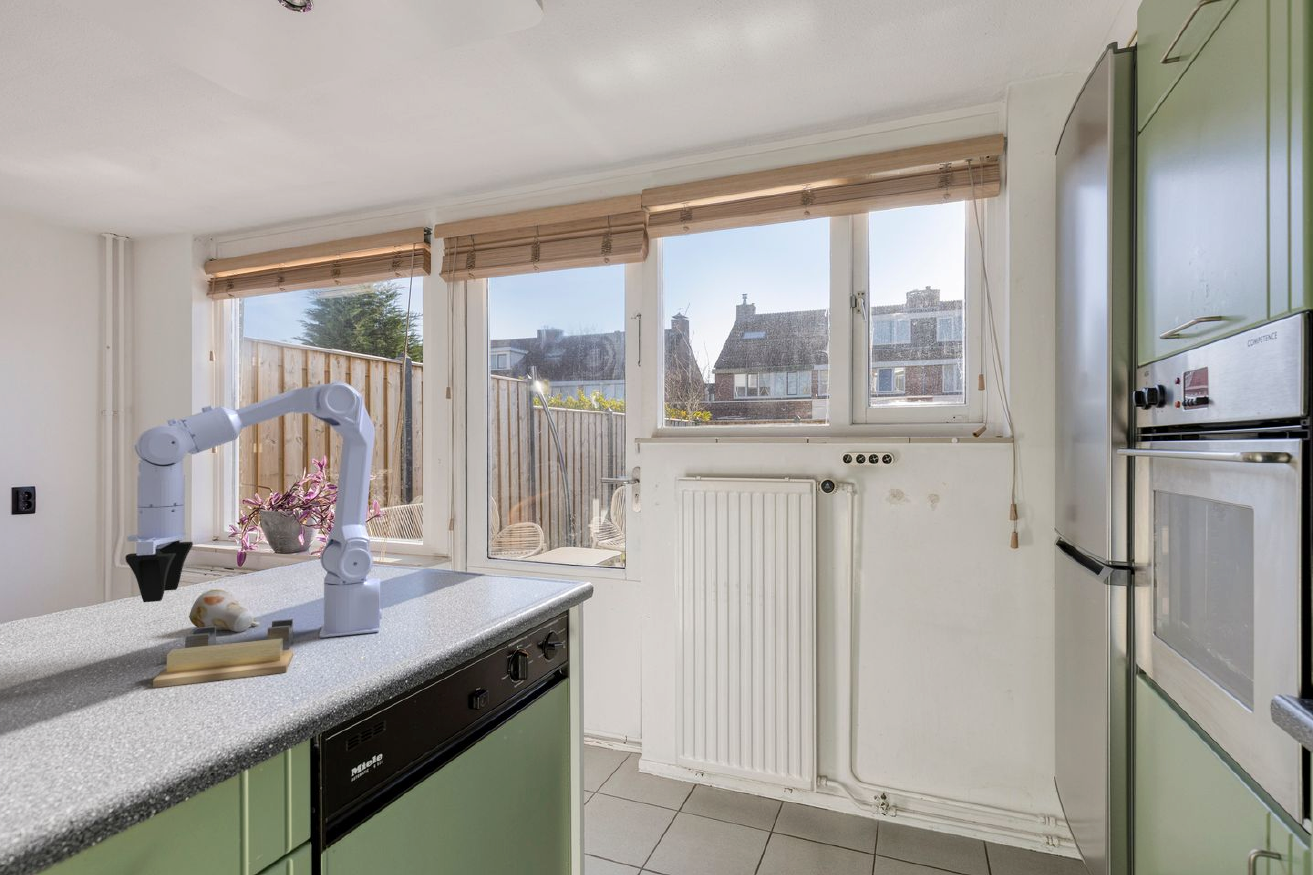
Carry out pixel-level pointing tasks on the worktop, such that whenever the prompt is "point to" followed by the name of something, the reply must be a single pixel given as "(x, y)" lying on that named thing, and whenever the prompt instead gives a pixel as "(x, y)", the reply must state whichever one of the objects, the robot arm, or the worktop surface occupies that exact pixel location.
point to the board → (223, 672)
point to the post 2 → (282, 632)
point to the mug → (221, 612)
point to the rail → (224, 655)
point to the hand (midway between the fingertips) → (160, 595)
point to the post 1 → (201, 637)
